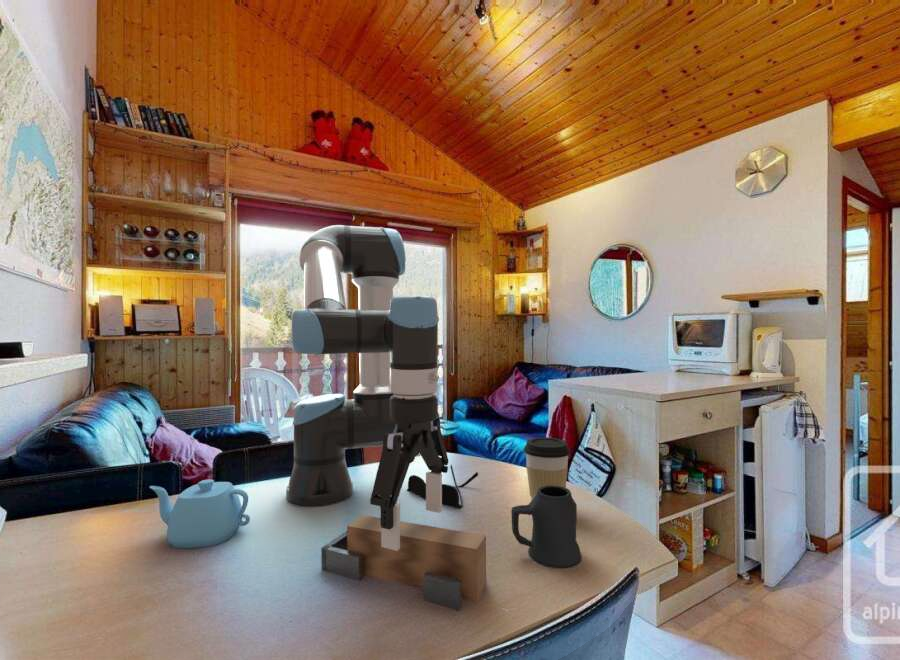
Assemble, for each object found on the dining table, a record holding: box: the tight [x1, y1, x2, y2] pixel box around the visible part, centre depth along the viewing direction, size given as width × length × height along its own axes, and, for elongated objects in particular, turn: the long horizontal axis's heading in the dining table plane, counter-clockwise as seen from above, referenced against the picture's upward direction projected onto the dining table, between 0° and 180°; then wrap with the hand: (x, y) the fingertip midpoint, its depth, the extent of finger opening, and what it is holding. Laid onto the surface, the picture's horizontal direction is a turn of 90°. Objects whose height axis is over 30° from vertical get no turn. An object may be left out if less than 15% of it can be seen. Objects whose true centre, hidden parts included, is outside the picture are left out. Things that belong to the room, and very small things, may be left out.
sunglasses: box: [406, 464, 479, 510], centre depth 106 cm, size 17×14×5 cm
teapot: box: [149, 478, 251, 549], centre depth 85 cm, size 13×11×18 cm
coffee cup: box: [523, 436, 571, 502], centre depth 95 cm, size 10×10×15 cm
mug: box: [510, 485, 582, 569], centre depth 77 cm, size 12×9×11 cm
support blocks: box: [423, 572, 463, 612], centre depth 67 cm, size 6×9×4 cm, turn 155°
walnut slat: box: [346, 514, 487, 602], centre depth 70 cm, size 22×4×8 cm, turn 69°
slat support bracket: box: [320, 530, 364, 582], centre depth 74 cm, size 8×9×4 cm
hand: (414, 527), depth 70 cm, fingers open, 13 cm apart
